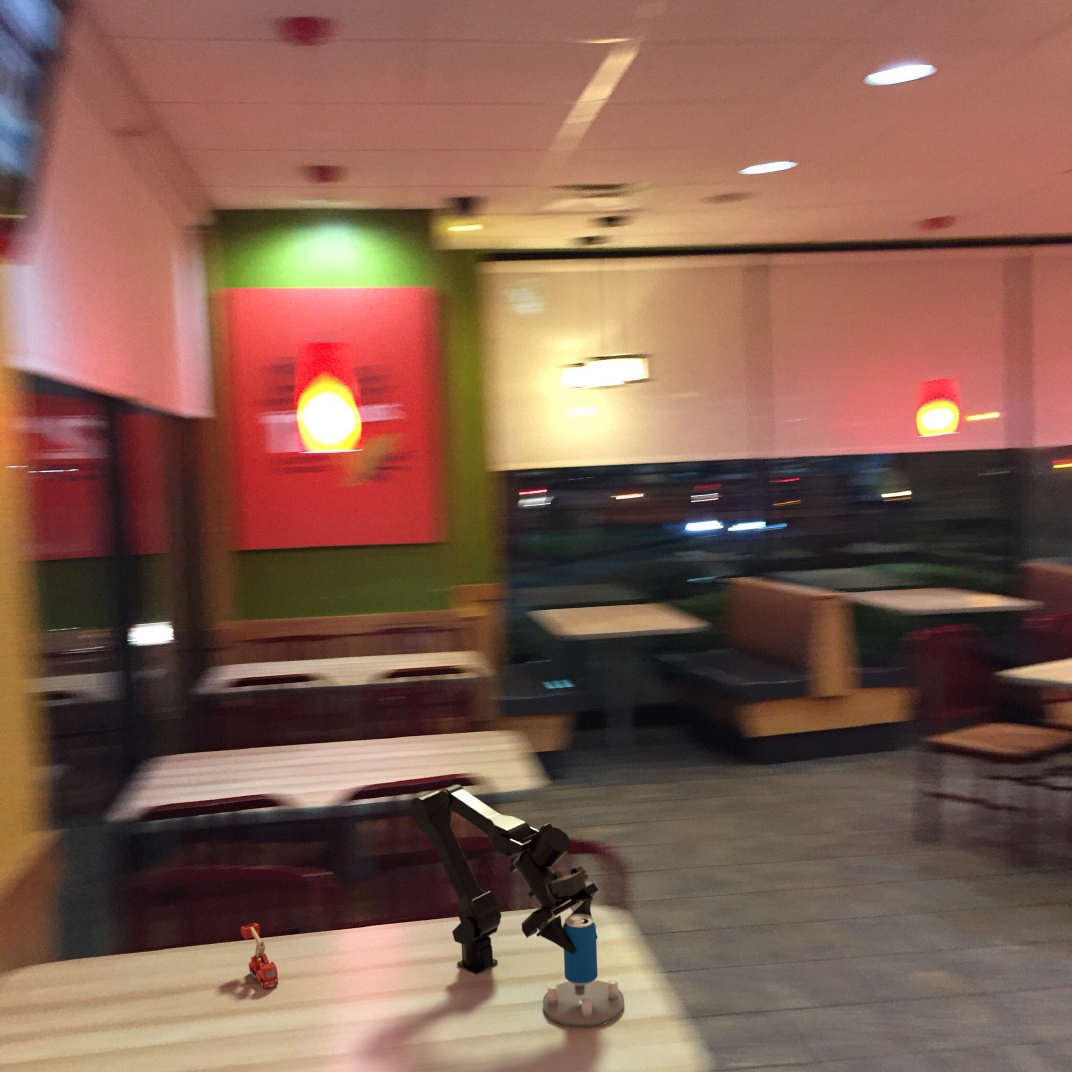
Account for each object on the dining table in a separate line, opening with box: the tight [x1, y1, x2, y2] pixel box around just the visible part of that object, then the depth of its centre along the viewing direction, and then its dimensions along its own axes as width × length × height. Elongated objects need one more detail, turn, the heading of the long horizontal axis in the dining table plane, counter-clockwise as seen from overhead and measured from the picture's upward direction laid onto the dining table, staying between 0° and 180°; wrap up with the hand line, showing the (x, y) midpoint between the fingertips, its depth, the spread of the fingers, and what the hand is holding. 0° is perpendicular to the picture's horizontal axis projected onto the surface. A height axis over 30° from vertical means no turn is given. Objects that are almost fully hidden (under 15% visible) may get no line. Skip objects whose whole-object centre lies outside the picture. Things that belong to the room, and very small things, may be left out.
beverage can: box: [562, 914, 599, 985], centre depth 205 cm, size 6×6×12 cm
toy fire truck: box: [240, 922, 279, 989], centre depth 224 cm, size 3×14×10 cm, turn 34°
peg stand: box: [542, 979, 625, 1029], centre depth 206 cm, size 16×16×4 cm
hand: (585, 946), depth 204 cm, fingers closed on beverage can, 6 cm apart
